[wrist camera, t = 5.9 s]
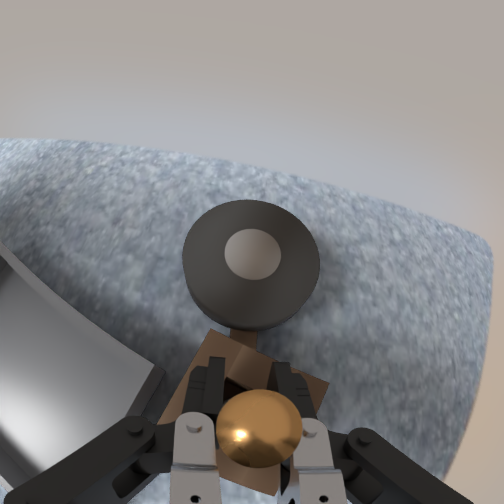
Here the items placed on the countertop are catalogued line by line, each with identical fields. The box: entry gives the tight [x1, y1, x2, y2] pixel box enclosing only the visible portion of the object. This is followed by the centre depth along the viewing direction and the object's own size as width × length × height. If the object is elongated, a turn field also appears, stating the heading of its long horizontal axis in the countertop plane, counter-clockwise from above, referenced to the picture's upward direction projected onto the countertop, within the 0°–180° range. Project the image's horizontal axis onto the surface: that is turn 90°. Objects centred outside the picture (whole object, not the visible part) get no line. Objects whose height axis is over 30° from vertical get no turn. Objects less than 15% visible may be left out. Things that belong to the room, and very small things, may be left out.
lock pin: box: [216, 389, 303, 468], centre depth 11 cm, size 2×2×10 cm
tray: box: [0, 241, 166, 492], centre depth 13 cm, size 18×15×4 cm
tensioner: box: [157, 200, 329, 496], centre depth 17 cm, size 11×16×5 cm
